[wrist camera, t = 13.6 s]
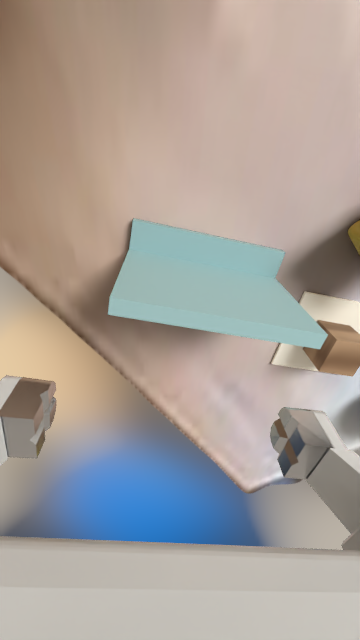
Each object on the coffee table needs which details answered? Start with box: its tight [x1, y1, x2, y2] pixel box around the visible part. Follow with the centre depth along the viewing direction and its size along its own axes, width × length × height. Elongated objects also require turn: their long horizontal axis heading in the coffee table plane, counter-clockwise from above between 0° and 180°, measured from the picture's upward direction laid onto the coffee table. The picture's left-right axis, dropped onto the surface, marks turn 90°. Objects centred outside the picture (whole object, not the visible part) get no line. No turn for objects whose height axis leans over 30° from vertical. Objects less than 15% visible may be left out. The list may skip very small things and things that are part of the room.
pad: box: [271, 291, 360, 375], centre depth 40 cm, size 12×12×1 cm
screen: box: [108, 218, 328, 349], centre depth 28 cm, size 5×18×14 cm, turn 78°
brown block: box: [303, 320, 360, 376], centre depth 38 cm, size 5×5×5 cm
